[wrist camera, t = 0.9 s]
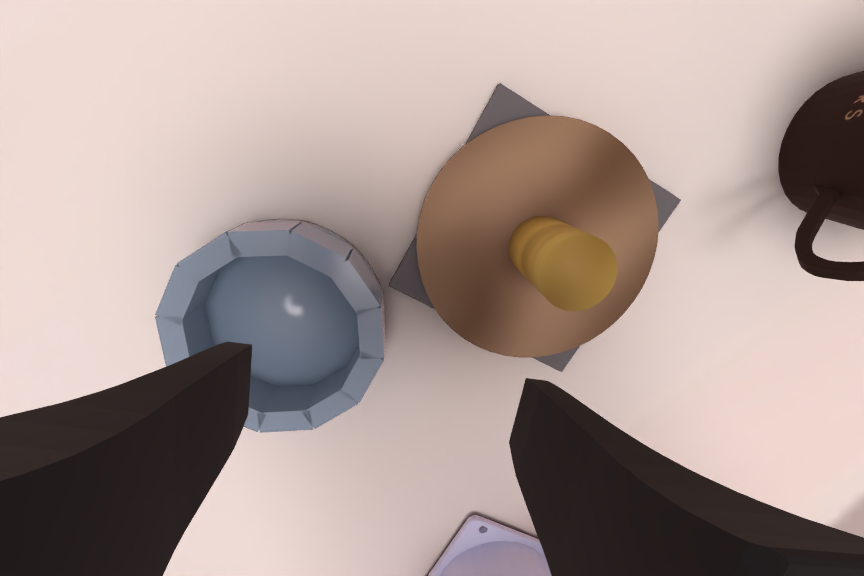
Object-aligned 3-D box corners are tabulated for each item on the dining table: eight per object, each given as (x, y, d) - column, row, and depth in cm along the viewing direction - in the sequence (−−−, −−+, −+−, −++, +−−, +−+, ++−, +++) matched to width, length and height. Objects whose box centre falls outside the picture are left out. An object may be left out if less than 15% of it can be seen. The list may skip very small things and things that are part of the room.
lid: (695, 195, 20) (794, 210, 15) (563, 383, 23) (610, 449, 18) (496, 65, 18) (534, 31, 13) (374, 290, 20) (366, 335, 15)
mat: (675, 198, 21) (681, 200, 20) (558, 368, 23) (561, 372, 22) (497, 84, 18) (499, 83, 18) (389, 283, 21) (389, 286, 20)
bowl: (417, 275, 21) (420, 295, 18) (335, 420, 23) (327, 459, 20) (235, 182, 19) (206, 187, 16) (164, 349, 21) (128, 381, 18)
